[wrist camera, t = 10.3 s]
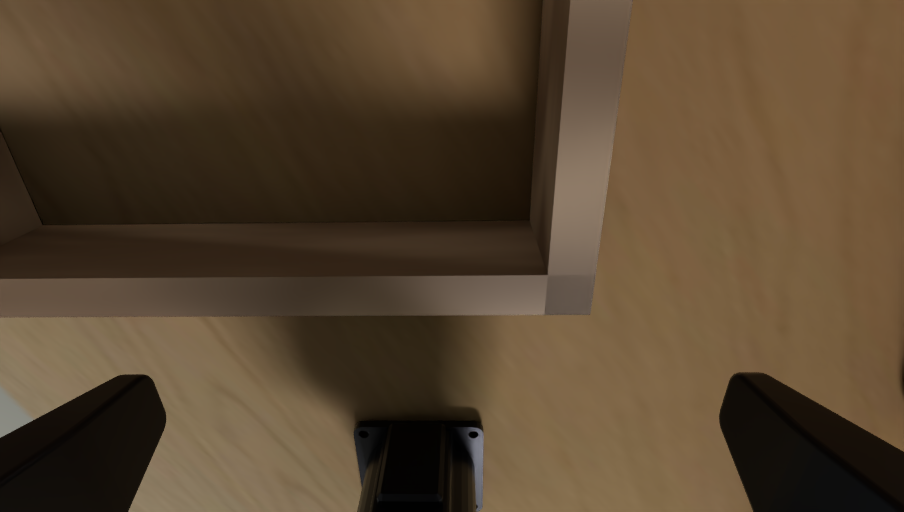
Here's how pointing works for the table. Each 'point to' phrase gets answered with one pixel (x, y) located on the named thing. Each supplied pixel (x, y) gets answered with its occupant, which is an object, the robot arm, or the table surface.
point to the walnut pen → (358, 228)
